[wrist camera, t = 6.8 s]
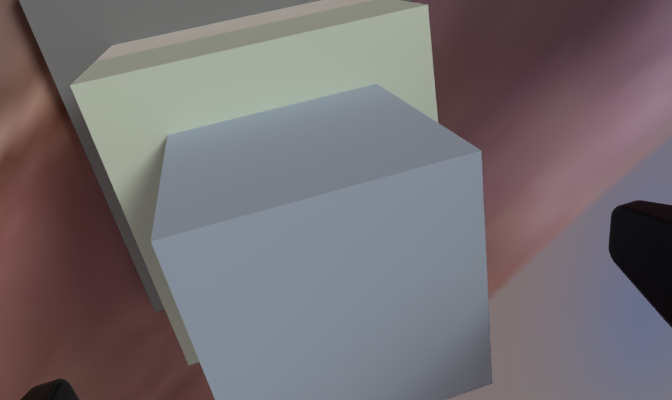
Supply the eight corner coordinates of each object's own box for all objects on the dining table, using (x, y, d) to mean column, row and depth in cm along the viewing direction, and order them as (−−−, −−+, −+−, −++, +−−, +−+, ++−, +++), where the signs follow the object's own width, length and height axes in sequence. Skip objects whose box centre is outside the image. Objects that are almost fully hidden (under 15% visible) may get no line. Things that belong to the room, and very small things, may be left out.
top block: (376, 83, 12) (481, 150, 8) (400, 255, 14) (492, 383, 10) (167, 135, 11) (150, 241, 7) (227, 307, 14) (243, 470, 9)
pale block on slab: (397, -84, 17) (504, -111, 11) (429, 223, 22) (512, 313, 16) (21, -11, 15) (-88, 4, 9) (156, 303, 20) (141, 436, 15)
